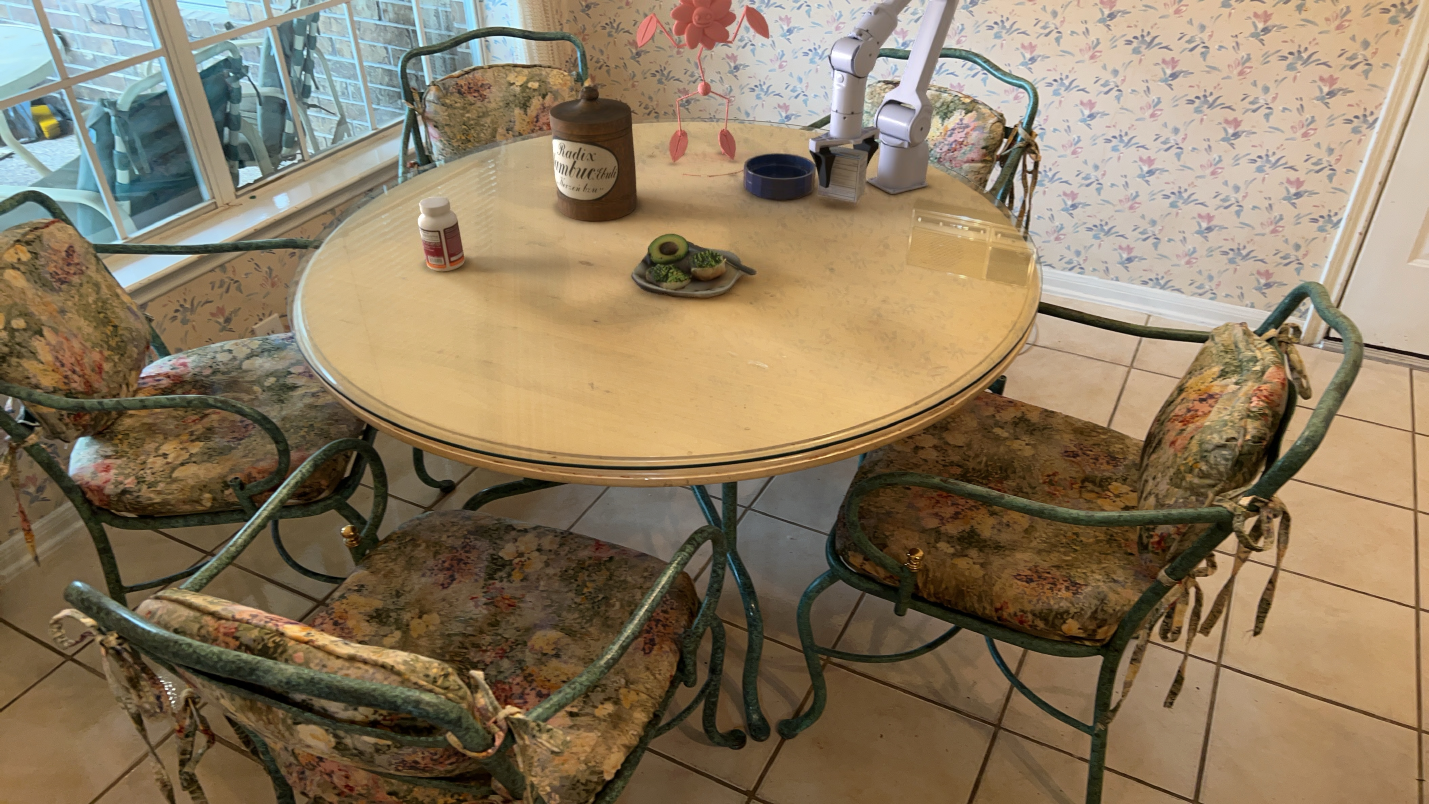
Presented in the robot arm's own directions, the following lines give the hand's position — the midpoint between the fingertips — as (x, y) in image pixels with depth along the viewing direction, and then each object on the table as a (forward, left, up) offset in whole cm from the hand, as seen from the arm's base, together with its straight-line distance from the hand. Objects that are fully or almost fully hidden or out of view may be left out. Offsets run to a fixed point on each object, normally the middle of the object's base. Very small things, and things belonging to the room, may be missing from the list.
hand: (840, 182), depth 169 cm
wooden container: (+40, -22, -5) cm, 46 cm away
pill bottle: (+72, -12, -5) cm, 73 cm away
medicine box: (0, 0, -3) cm, 3 cm away
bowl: (+5, -13, -5) cm, 15 cm away
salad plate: (+39, +11, -5) cm, 41 cm away
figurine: (+12, -31, -5) cm, 34 cm away
